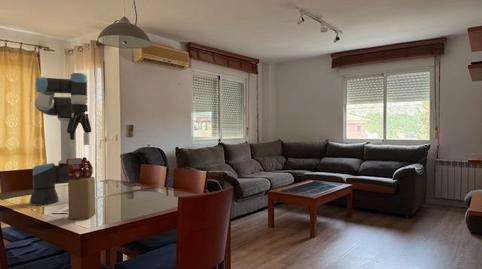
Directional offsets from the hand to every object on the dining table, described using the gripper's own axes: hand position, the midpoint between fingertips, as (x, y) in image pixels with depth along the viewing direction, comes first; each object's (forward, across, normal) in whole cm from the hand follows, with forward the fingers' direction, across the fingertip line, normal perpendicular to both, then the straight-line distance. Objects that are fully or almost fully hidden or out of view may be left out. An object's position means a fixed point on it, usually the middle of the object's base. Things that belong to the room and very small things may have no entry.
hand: (80, 145), depth 172 cm
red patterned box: (+16, -2, -1) cm, 17 cm away
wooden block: (+36, -2, -2) cm, 37 cm away
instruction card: (+36, +14, +12) cm, 41 cm away
